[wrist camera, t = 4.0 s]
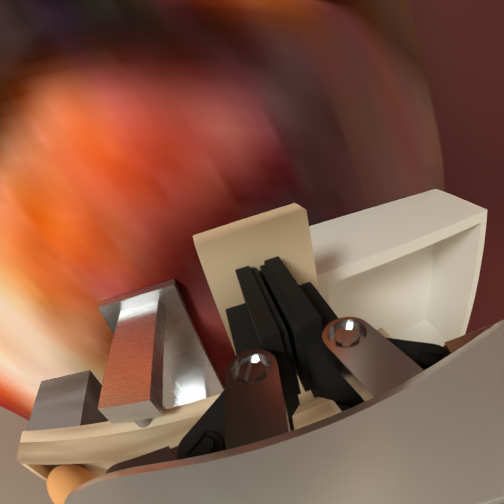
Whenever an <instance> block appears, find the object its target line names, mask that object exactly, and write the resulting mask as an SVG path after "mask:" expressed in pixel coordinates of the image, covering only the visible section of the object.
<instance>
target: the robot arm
mask: <svg viewBox="0 0 504 504" xmlns="http://www.w3.org/2000/svg"><path fill="white" fill-rule="evenodd" d="M264 264H265V265H261V266H260V269H261V273H262V277H263V280H262V278H261V276H260V274H259V272H258V270H257V268H256V267H255V268H252V269H251V268H250V266H245V267H242V268H239V269H236V270H235V271H236V275H237V278H238V281H239V285H240V288H241V291H242V294H243V298H244V301H245V303H243V304H240V305H237V306H234V307H231V308H227V309H226V314H227V319H228V323H229V327H230V331H231V335H232V339H233V343H234V347H235V351H236V356H235V357H234V358H233V359H232V360H231V361H230V362H229V363H228V365H227V367H226V372H225V390H224V391H223V392H222V393H221V394H220V396H219V397H218V398H217V399H216V400H215V402H214V403H213V404H212V405H211V406H210V407H209V409H208V410H207V411H206V412H205V413H204V414H203V416H202V417H201V418H200V419H199V420H198V421H197V422H196V424H195V425H194V426H193V427H192V428H191V429H190V430H189V432H188V433H187V434H186V435H185V436H184V437H183V438H182V440H181V441H180V443H179V445H178V446H176V447H174V448H171V447H170V446H167V447H164V448H162V449H159V450H156V451H153V452H151V453H148V454H145V455H142V456H139V457H136V458H133V459H130V460H127V461H123V462H120V463H117V464H115V465H113V466H111V467H110V468H109V469H108V470H107V471H106V473H105V474H104V475H101V476H99V477H96V478H94V479H92V480H89V481H87V482H85V483H83V484H82V485H80V486H78V487H77V488H75V489H74V490H73V491H72V492H71V493H70V494H69V495H68V497H67V498H66V500H65V502H64V504H504V320H502V321H500V322H498V323H496V324H495V325H491V326H486V327H484V328H481V329H479V330H476V331H474V332H471V333H469V334H466V335H463V336H461V337H458V338H455V339H453V340H450V341H447V342H445V343H444V346H440V345H437V344H432V343H424V342H416V341H408V340H400V339H393V338H386V337H384V336H383V335H382V334H381V333H379V332H378V331H377V330H376V329H375V328H373V327H372V326H371V325H370V324H369V323H367V322H366V321H364V320H363V319H360V318H357V317H343V318H338V317H337V315H336V314H335V313H334V311H333V310H332V309H331V308H330V306H329V305H328V304H327V302H326V301H325V300H324V298H323V297H322V296H321V295H320V293H319V292H318V291H317V289H316V288H315V287H314V285H313V284H312V283H311V282H307V283H304V284H301V285H299V284H298V283H297V282H296V280H295V279H294V277H293V276H292V274H291V273H290V272H289V270H288V269H287V267H286V266H285V264H284V263H283V262H282V260H281V259H280V257H279V256H277V257H274V258H271V259H268V260H265V261H264ZM263 281H264V283H263ZM297 375H298V377H297ZM298 378H299V380H300V382H301V384H302V386H303V388H304V390H305V392H307V391H310V390H311V392H312V394H313V396H314V398H316V397H321V398H325V399H329V402H330V404H331V406H332V408H333V409H334V410H335V411H336V413H337V414H335V415H333V416H331V417H328V418H326V419H323V420H320V421H318V422H315V423H313V424H310V425H307V426H304V427H302V428H299V429H296V430H295V426H294V421H293V417H292V416H293V414H294V413H295V411H296V409H297V408H298V406H299V405H300V402H299V398H298V395H299V394H301V391H300V386H299V381H298Z"/></svg>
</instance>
